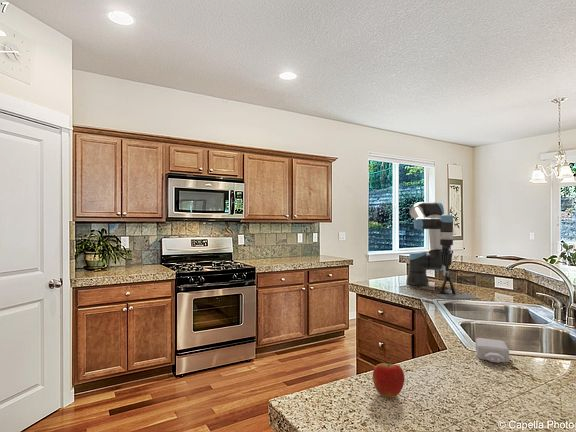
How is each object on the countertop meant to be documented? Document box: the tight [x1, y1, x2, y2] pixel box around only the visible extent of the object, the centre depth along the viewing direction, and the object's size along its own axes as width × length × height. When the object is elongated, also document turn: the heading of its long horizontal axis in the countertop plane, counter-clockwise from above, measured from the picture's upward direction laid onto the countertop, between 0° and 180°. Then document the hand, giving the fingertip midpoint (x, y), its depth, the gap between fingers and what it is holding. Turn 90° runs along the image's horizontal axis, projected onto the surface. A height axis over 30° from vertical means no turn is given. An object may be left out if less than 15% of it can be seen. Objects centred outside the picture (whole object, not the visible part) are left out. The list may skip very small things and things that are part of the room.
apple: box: [372, 356, 405, 399], centre depth 98 cm, size 8×8×10 cm
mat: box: [433, 293, 480, 300], centre depth 223 cm, size 12×22×1 cm, turn 93°
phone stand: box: [439, 272, 457, 294], centre depth 232 cm, size 9×6×12 cm, turn 65°
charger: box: [475, 337, 510, 363], centre depth 124 cm, size 5×9×15 cm
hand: (446, 276), depth 235 cm, fingers closed
